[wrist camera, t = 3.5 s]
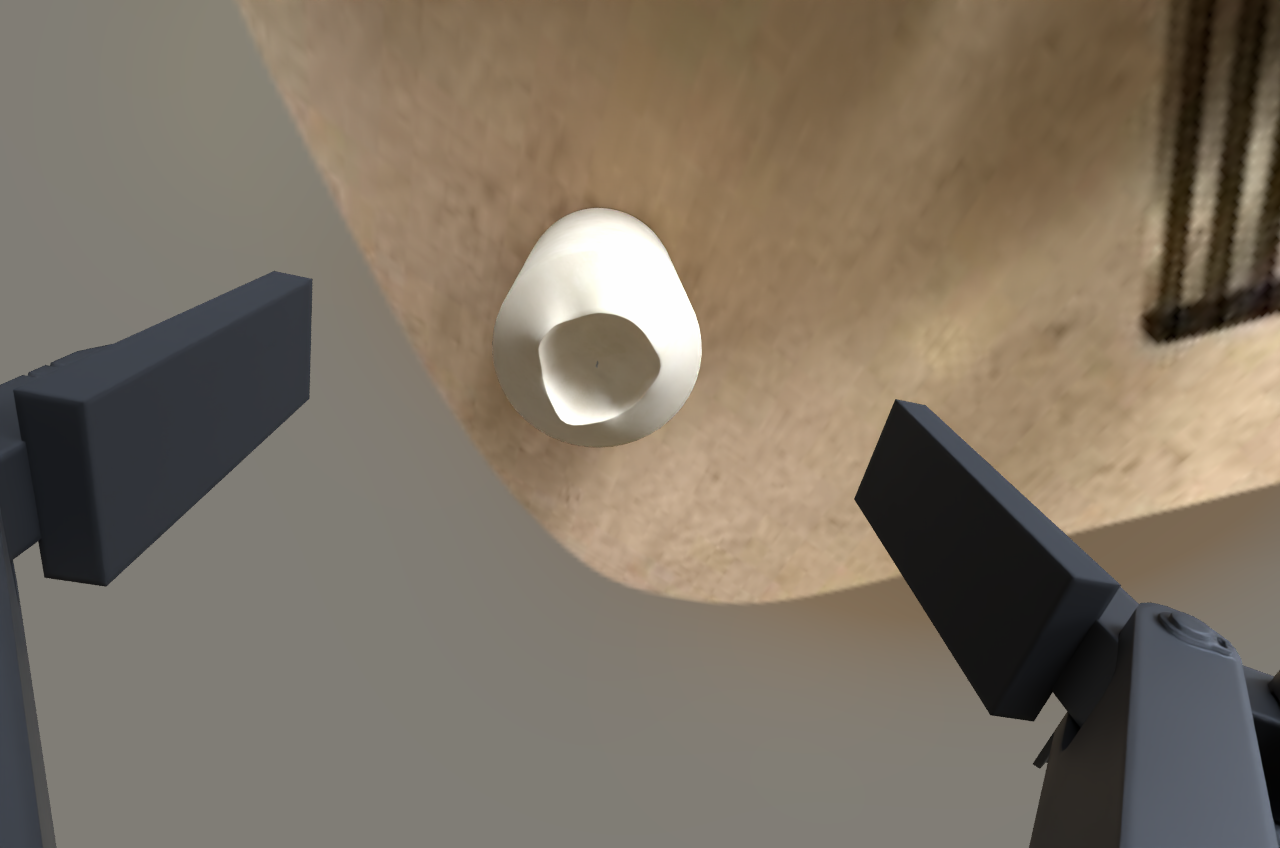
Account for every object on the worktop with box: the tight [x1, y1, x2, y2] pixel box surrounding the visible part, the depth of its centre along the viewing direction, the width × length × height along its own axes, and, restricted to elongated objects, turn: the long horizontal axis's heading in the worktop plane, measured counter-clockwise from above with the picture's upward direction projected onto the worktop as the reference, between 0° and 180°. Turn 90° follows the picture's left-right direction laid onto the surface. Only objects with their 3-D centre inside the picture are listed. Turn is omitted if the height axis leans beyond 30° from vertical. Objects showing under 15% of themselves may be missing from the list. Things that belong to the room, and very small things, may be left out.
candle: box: [492, 208, 702, 447], centre depth 21 cm, size 6×6×10 cm
